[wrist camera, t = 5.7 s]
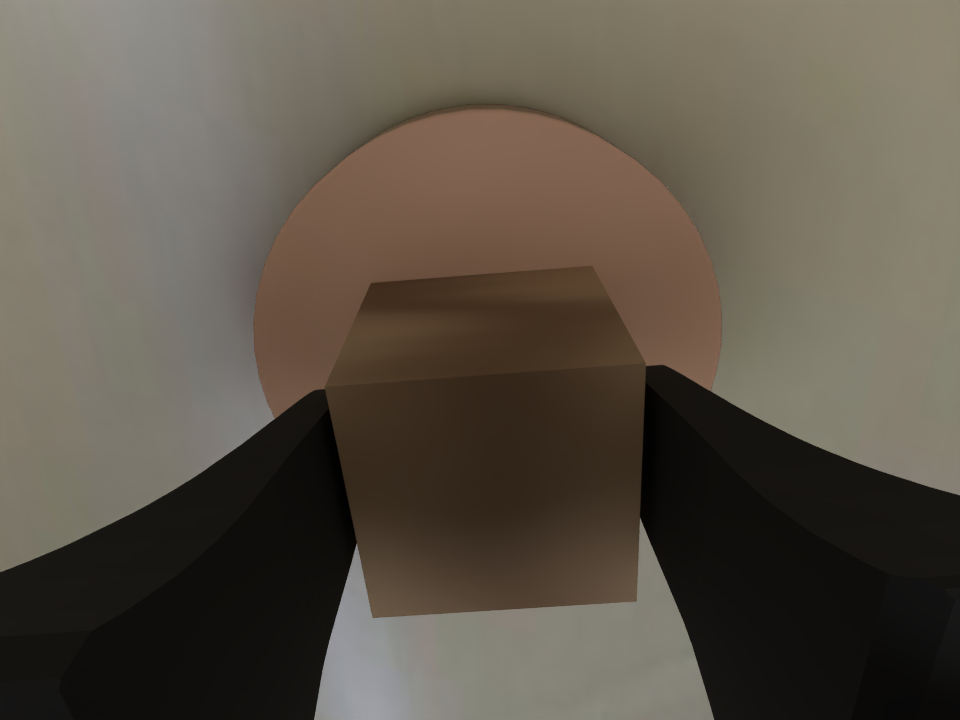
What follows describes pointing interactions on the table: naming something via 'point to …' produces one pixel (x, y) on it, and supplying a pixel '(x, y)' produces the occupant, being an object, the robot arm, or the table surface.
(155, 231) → the table surface
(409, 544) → the walnut cube
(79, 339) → the table surface
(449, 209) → the base disc
